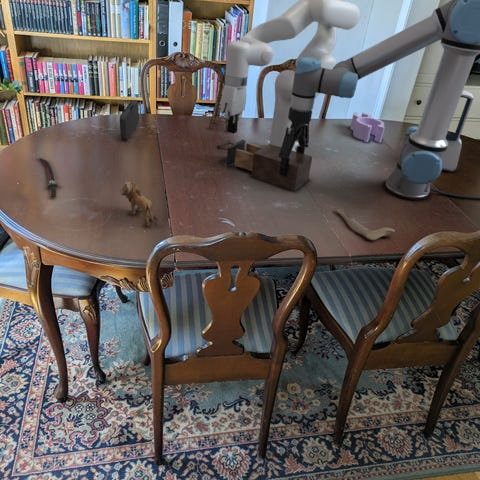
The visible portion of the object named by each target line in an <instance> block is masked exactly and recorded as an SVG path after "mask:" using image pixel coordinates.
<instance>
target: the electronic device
mask: <svg viewBox="0 0 480 480" xmlns="http://www.w3.org/2000/svg"><path fill="white" fill-rule="evenodd" d="M460 98H462V99H463V98H464V99H466V101H465V104H464V107H463V110H462V112H461V115H460V117H459V120H458V124H457V127H456V129H455V132H454V134H447V135H446V137H445V138H446V140H447V142H448V147H447V149H446V152H445V155H444V157H443V160H442V170H441V171H445V172H449V173H452V172H454V171H456V170H457V168H458V165H459V164H458V163H459V160H460V155H461V151H462V147H463V144H462V139H461V134H462V131H463V129H464V126H465V123H466V120H467V118H468V115H469V113H470V111H471V110H470V109H471V107H472V104H473V101H474V96H473V93H471V92H470V91H467V90H463V92H462V94H461V97H460Z"/></svg>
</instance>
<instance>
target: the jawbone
mask: <svg viewBox="0 0 480 480" xmlns="http://www.w3.org/2000/svg"><path fill="white" fill-rule="evenodd" d="M334 210H335V212H336V213H337V214H338V215H339V216H341V217H342V219H343V220H344V222H345V223H346V225H347V226H348V227H349V229H351V230H352V231H354V233H356V234H358V235H360V236H363V237H364V238H366V239H367V240H369V241H377V240H378V239H380V238H381V237H384V238H388V237H389V236H390V232H391V233H392V232H393V233H395V232H396V229H395V228H392V227H381V228H379V229H368V228H367V227H365V226H363V225H362V224H360V223H359V222H357V221H356V219H355V218H353V217H352V218H350V217H348V216H347V215H346V213H345V212H344V211H343V210H342V209H341V208H340V207H338V208H334Z"/></svg>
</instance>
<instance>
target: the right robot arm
mask: <svg viewBox="0 0 480 480" xmlns="http://www.w3.org/2000/svg"><path fill="white" fill-rule="evenodd" d="M439 41H440V45H441V47H442V49H443V52H442V54H441V58H440V60H439V63H438V65H437V66H438V67H437V70H436V72H435V74H434V75H435V76H434V78H433V82H432V84H431V87H430V90H429V93H428V96H427V99H426V102H425V105H424V108H423V111H422V114H421V117H420V120H419V123H418V125H414V126H413V125H412V126H409V127H408V128H407V130H406V132H405V134H404V139H403V142H402V146H401V149H400V152H399V156H398V159H397V163H396V166H395V168H394V169H393V171H392V172H391V173H390V172H388V174H387V175H388V177H387V179H386V181H385V184H384V185H385V186H384V187H385V189H386V190H387V191H388V193H390V194H391V195H394V196H396V197H398V198H401V199H405V200H409V201H424V200H427V198H428V197H429V195H430V193H431V192H435V193H437V194H440V195H444V196H448V197H454V198H459V199H469V200H480V196H472V195H464V194H463V195H462V194H457V193H450V192H445V191H442V190H440V189H436V188H434V187H431V183H432V182H434V181H436V180H437V179H438V178H439V176H440V175H441V173H442V171H443V170H442V160H443V157H444V155H445V152H446V149H447V147H448V142H447V140H446V138H445V137H446V135H448V132H449V130H450V126H451V123H452V121H453V119H454V115H455V113H456V110H457V109H458V105H459V102H460V100H461V98H462V97H461V94H462V92H463V91H464V89H465V87H466V84H467V81H468V78H469V75H470V72H471V69H472V68H473V65H474V63H475V59H476V57H477V56H478V55H480V0H449V1H448V2H446V3H445V4H443V5H441V6H439V7H437V8H435V9H434V10H433V12H432V13H431V15H430V16H427V17H426V18H424V19H422V20H419V21H418V22H416V23H414V24H412V25H410V26H409V27H407V28H404V29H403V30H401V31H399V32H396V33H395V34H393V35H391V36H389V37H387V38H386V39H383V40H381V41H379V42H378V43H376V44H374V45H372V46H370V47H368V48H365V50H362V51H361V52H358V53H356V54H355V55H353V56H350V57H349V58H347V59H346V60H341V61H339V62H336V63H337V64H336V65H335V66H334V67H333V69H326V68H322V67H321V61H320V60H318V59H314V58H310V57H302V58H300V59H299V60H298V61H297V65H296V64H295V70H294V71H295V73H294V82H293V89H292V95H291V96H290V98H291V102H290V106H291V107H290V108H289V114H288V119H289V120H290V121H291V122H292V124H291V126H290V128H288V127H287V128H286V133H285V137H284V140H283V143H282V147H281V150H280V153H279V157H280V158H281V164H280V171H279V175H282V176H285V177H287V173H288V167H289V161H290V158H289V156H290V153H291V151H292V149H293V146H294V144H295V141H296V142H298V143H299V145H300V146H297V147H296V152H299V153H302V154H305V151H306V149H307V148H309V143H310V141H309V140H310V122H311V121H312V117H313V116H312V115H313V109H314V105H315V100H316V98H315V93H316V92H317V93H320V94H321V95H322V94H323V95H327V96H333V97H338V98H341V99H342V98H343V99H352V98H354V96H355V93H356V90H357V86H358V81H359V80H361V79H363V78H365V77H367V76H369V75H371V74H373V73H375V72H377V71H379V70H381V69H383V68H386V67H387V66H390V65H392V64H394V63H396V62H398V61H400V60H401V59H404V58H406V57H408V56H410V55H412V54H414V53H416V52H419V51H420V50H423V49H425V48H427V47H428V46H431V45H433V44H435V43H436V42H439ZM389 174H390V175H389ZM477 197H478V198H477Z"/></svg>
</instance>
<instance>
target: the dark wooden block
mask: <svg viewBox="0 0 480 480" xmlns="http://www.w3.org/2000/svg"><path fill="white" fill-rule="evenodd" d="M262 147H263V148H262V149H260V150H258V151H257V152H255V153H254V156H253V166H252V171H251V175H250V177H251V178H253V179H256V180H260V181H262V182H266V183H269V184H271V185H275V186H277V187H281V188H284V189H287V190H290V191H293V192H295V191H297V190H298V189H299V188H301V186H303V185H304V184H305V183H306V182H308V181H309V179H310V173H311V167H312V162H313V161H312V160H313V155H309V154H306V153H304V154H302V153H299V152H295V151H291V153H290V156H289V158H290V161H289V167H288V173H287V177H285V176H282V175H279V171H280V164H281V158H280V157H279V153H280V150H281V147H278V146H275V145H272V144H270V143H269V144H266V145H265V146H262Z"/></svg>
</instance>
